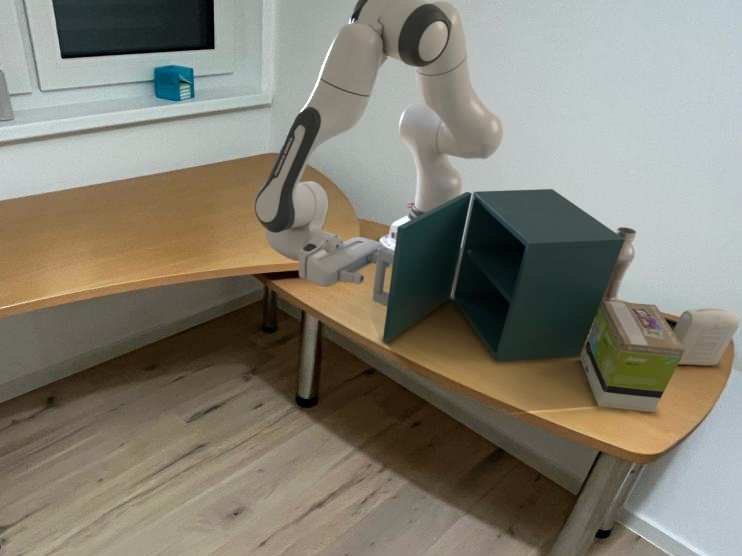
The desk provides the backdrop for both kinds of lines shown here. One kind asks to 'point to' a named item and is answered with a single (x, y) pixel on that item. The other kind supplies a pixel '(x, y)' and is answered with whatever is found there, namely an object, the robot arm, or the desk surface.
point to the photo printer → (705, 334)
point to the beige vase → (620, 264)
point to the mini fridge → (533, 273)
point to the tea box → (630, 356)
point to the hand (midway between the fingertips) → (375, 272)
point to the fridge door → (421, 265)
